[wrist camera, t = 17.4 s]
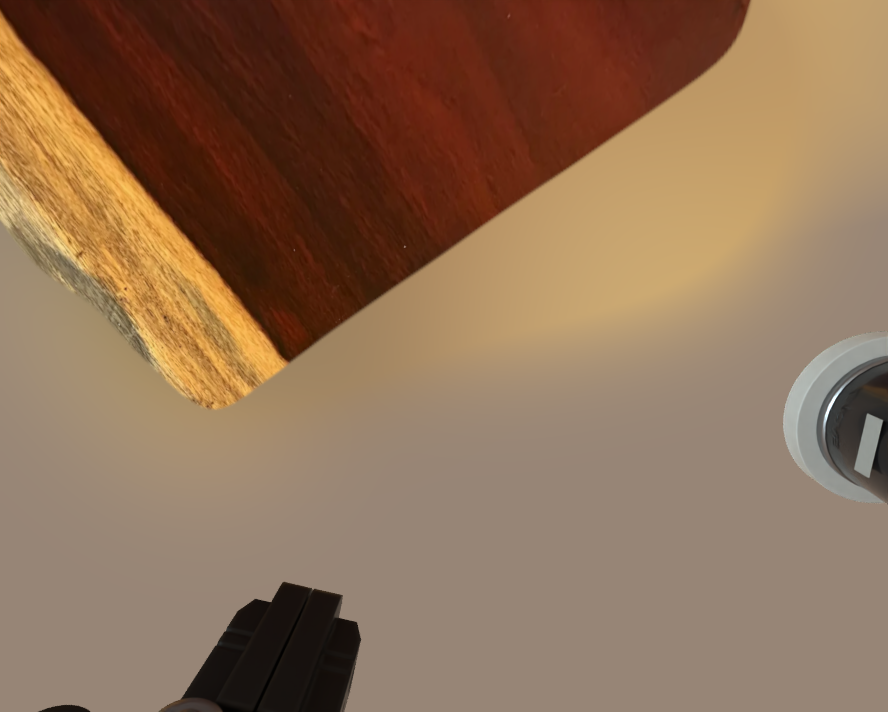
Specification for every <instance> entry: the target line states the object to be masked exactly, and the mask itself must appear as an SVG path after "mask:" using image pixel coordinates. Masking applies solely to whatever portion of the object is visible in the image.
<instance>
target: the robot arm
mask: <svg viewBox="0 0 888 712" xmlns="http://www.w3.org/2000/svg"><path fill="white" fill-rule="evenodd" d="M816 434H817V441H818V446H819V448H820V451H821V453H822V456H823V457H824V459H825V461H826V462H827V463H828V465H829V466H830V467H831V468H832V469H833V470H834V471H835V472H836V473H838V474H839V475H840V476H842V477H844V478H845V479H847V480H848V481H850V482H851V483H853V484H855V485H857V486H860V487H862V488H864V489H865V490H867V491H868V492H870V493H871V494H873V495H875V496H876V497H878V498H879V499H881V500H882V501H884V502H885V503H887V504H888V356H883V357H879V358H875V359H872V360H869V361H867V362H865V363H863V364H860V365H859V366H857V367H855V368H854V369H852V370H851V371H849V372H848V373H846V374H845V375H844V376H843V377H842V378H841V379H840V380H839V381H838V382H837V383H836V384H835V385H834V386H833V387H832V388H831V390H830V391H829V393H828V394H827V396H826V398H825V399H824V401H823V403H822V406H821V408H820V411H819V414H818V419H817V426H816ZM342 597H343V595H339V594H335V593H331V592H326V591H322V590H317V589H314V590H312V588H308V587H304V586H300V585H295V584H291V583H287V582H283V583H282V584H281V586H280V588H279V589H278V591H277V593H276V595H275V596H274V598H273V600H272V602H267V601H262V600H258V599H254V600H253V601H252V602H250V603H249V604H247V605H246V606H245V607H243V608H242V609H240V610H239V611H238V612H237V613H236V615H235V616H234V618H233V619H232V621H231V622H230V624H229V626H228V627H227V630H226V632H224V633H223V635H222V636H221V638H220V640H219V641H218V644H217V646H215V647H214V649H213V650H212V652H211V654H210V655H209V657H208V658H207V660H206V661H205V663H204V664H203V666H202V668H201V669H200V671H199V672H198V674H197V675H196V677H195V678H194V680H193V682H192V683H191V685H190V686H189V688H188V689H187V691H186V692H185V694H184V695H183V697H182V698H181V700H178V701H175V702H173V703H171V704H169V705H167V706H166V707H164V708H162V709H161V710H160V711H159V712H344V710H345V707H346V703H347V699H348V696H349V692H350V688H351V684H352V679H353V674H354V669H355V665H356V660H357V655H358V651H359V646H360V641H361V638H360V634H359V630H358V625H357V622H354V621H349V620H345V619H341V618H339V613H340V609H341V604H342ZM39 712H90V711H89V710H87V709H85V708H83V707H80V706H75V705H61V706H55V707H51V708H47V709H45V710H42V711H39Z"/></svg>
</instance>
